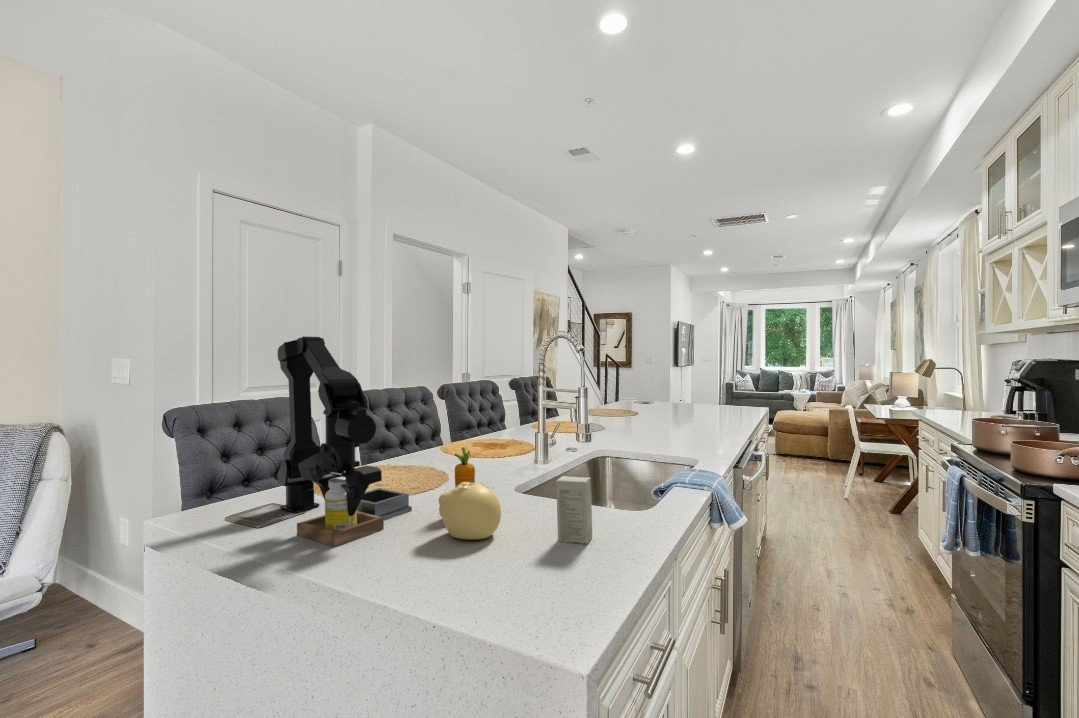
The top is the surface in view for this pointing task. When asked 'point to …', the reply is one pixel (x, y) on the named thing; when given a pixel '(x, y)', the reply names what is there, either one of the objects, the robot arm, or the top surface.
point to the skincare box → (574, 509)
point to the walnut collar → (317, 531)
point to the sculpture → (470, 511)
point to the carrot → (464, 469)
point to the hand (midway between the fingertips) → (341, 512)
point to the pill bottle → (337, 506)
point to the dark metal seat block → (384, 503)
